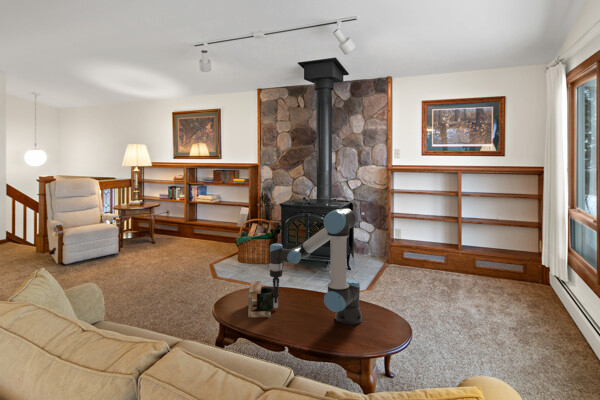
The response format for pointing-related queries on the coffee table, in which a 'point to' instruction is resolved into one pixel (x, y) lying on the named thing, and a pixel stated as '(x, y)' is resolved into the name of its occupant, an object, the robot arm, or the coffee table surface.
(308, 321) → the coffee table surface
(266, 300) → the mug
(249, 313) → the wooden u-frame
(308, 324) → the coffee table surface
